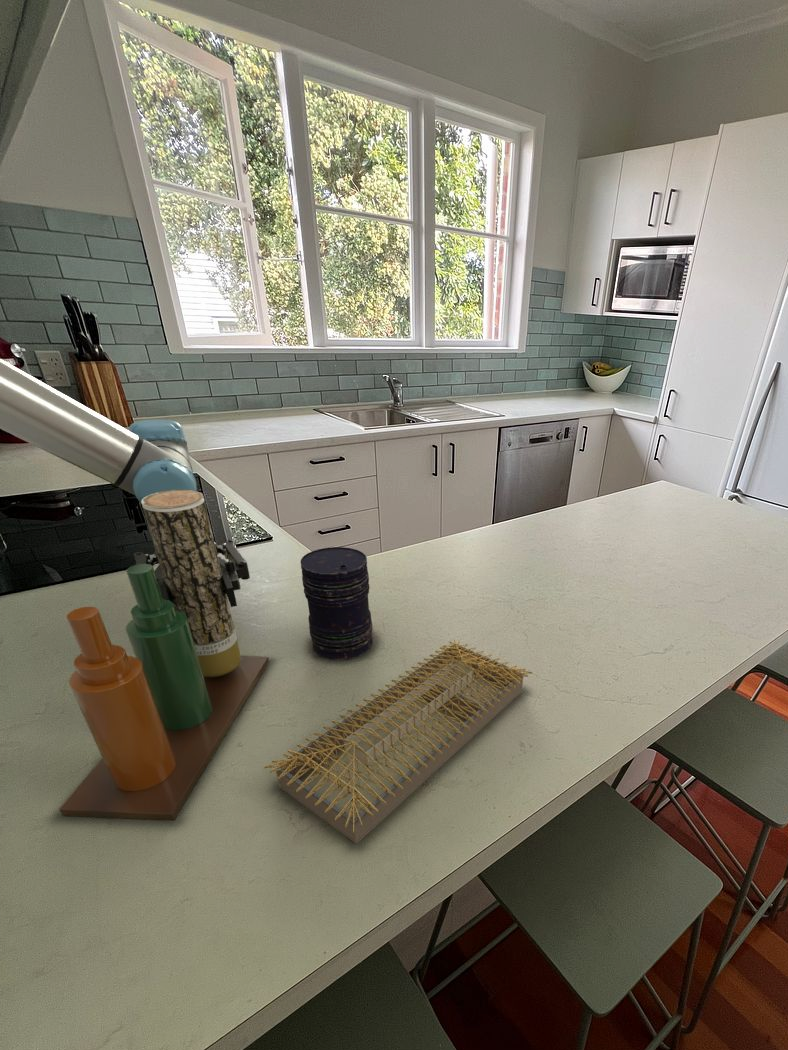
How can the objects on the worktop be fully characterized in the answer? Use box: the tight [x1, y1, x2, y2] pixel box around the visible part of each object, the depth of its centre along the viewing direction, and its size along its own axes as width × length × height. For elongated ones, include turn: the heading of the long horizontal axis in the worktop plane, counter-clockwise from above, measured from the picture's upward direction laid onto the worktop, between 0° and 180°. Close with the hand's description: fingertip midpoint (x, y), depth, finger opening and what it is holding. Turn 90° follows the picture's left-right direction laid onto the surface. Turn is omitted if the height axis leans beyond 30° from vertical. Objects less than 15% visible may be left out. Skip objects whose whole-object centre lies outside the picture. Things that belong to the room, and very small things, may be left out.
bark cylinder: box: [141, 490, 241, 677], centre depth 73 cm, size 7×7×25 cm
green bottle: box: [125, 564, 213, 730], centre depth 66 cm, size 6×6×21 cm
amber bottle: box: [65, 606, 176, 791], centre depth 57 cm, size 6×6×21 cm
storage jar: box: [300, 546, 374, 661], centre depth 85 cm, size 10×10×15 cm
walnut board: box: [59, 654, 270, 821], centre depth 71 cm, size 12×30×1 cm, turn 179°
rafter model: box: [263, 638, 533, 844], centre depth 70 cm, size 35×14×6 cm, turn 145°
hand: (200, 603), depth 69 cm, fingers closed on bark cylinder, 7 cm apart
